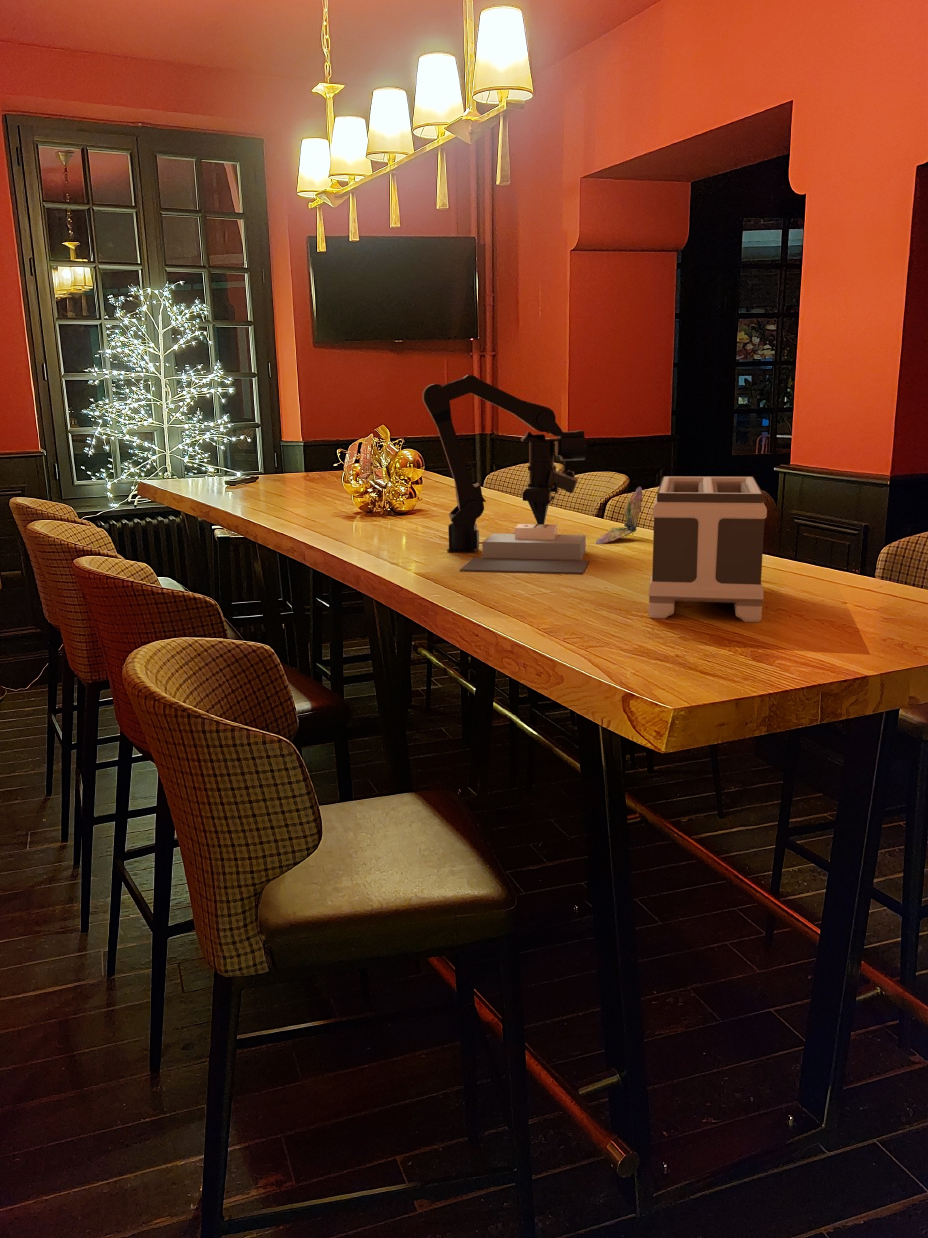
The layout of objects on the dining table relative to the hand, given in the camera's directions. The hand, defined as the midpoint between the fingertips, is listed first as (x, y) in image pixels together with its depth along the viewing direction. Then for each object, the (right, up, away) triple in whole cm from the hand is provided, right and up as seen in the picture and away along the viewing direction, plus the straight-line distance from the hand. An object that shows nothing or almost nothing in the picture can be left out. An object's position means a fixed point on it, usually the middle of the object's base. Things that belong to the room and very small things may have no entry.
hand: (541, 526), depth 228 cm
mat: (-5, -11, -22) cm, 25 cm away
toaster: (+25, -19, -55) cm, 63 cm away
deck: (-2, -7, -9) cm, 12 cm away
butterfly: (+20, -3, +10) cm, 22 cm away
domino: (-2, -3, -8) cm, 9 cm away
